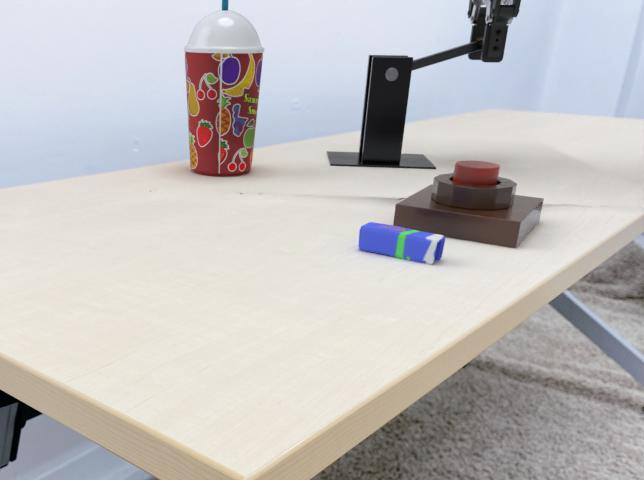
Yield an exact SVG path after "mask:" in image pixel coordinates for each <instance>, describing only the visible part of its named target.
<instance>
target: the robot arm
mask: <svg viewBox="0 0 644 480" xmlns="http://www.w3.org/2000/svg"><path fill="white" fill-rule="evenodd" d="M521 3H522V0H468V10H467V13H466V14H467V19H469V21H470V25H471V30H470V31H471V32H470V36H469V37H470V38H469V43H471V42H474V41H475V40H476V38H477V37H478V36H479V35H484V38H483V45H482V50H479V51H475V52H472V53H469V54H467V58H468V59H469V60H470V61H481V62H482V63H501V62H502V61H503V59H504V54H505V49H506V43H507V39H508V38H507V37H508V32H509V31H508V30H509V26H510V25H511V24H512V22H513V20H514V18H517V17H518V16H519V13H520V7H521Z"/></svg>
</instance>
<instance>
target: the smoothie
mask: <svg viewBox="0 0 644 480" xmlns="http://www.w3.org/2000/svg"><path fill="white" fill-rule="evenodd" d="M183 51H184V64H185V65H184V66H185V67H184V69H185V85H186V105H187V107H186V108H187V126H188V146H189V165H190V169H191V170H193V171H194V173H197V174H199V175H203V176H210V177H234V176H235V177H236V176H241V175H246V174H247V173H248V171H251V169H252V167H253V157H254V148H255V147H254V146H255V139H256V136H255V135H256V129H257V118H258V108H259V97H260V88H261V79H262V72H263V71H262V69H263V59H264V53H265V47H264V46H263V45H262V43H261V39H260V37H259V34H258V31H257V30H256V28H255V26H254V25H253V24H252V22H251V21H250V20H248V19H247V17H245V16H244V15H242V14H240V13H238V12H236V11H234V10H229V0H221V9H219V10H215V11H214V12H211V13H209V14H207V15H205V16H204V17H203V18H201V19H200V20H199V21H198V22H197V23H196V25H195V26H194V28H193V30H192V31H191V33H190V35H189V37H188V41H187V43H186V45H185V46H183Z"/></svg>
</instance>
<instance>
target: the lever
mask: <svg viewBox="0 0 644 480" xmlns="http://www.w3.org/2000/svg"><path fill="white" fill-rule="evenodd" d="M483 38H484V35H479V36H478V37H477V38H476V40H475V41H474V42H471V43H470V42H467V43H464V44H462V45H458V46H455V47H452V48H448V49H445V50H442V51H439V52H435V53H432V54H429V55H425V56H423V57H419V58H415V59H413V65H412V72H413V71H416V70H419V69H423V68H426V67H429V66H432V65H436V64H439V63H443V62H445V61H449V60H452V59H455V58H460V57H462V56H465V55H468V54H469V53H472V52H475V51H479V50H482V45H483Z"/></svg>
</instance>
